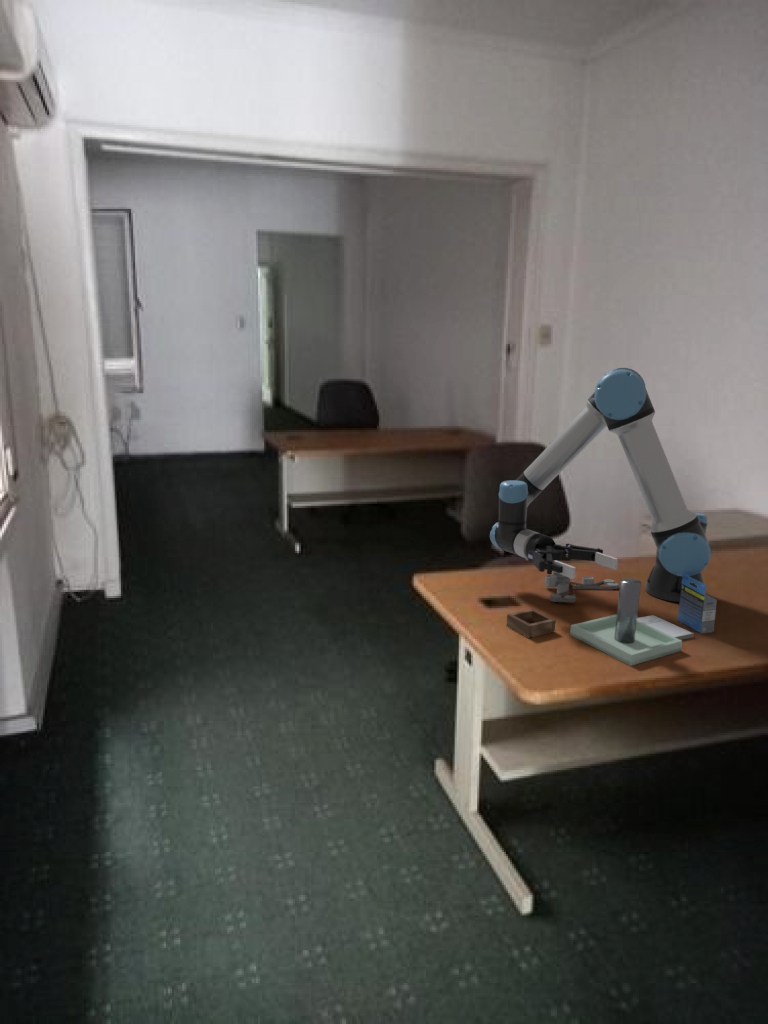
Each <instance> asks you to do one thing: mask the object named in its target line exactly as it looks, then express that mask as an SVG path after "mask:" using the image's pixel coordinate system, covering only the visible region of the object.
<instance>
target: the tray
mask: <svg viewBox="0 0 768 1024" xmlns="http://www.w3.org/2000/svg"><path fill="white" fill-rule="evenodd" d="M616 617H617V613H616V614H612V615H608V616H602V617H599V618H595V619H591V620H586V621H583V622H578V623H574V624H571V625H570V630H569V631H570V632H569V635H570V637H573V638H575V639H577V640H579V641H581V642H582V643H585V644H587V645H588V646H590V647H593V648H594V649H596V650H598V649H599V650H598V651H599V652H603V653H604V654H606V655H608V656H610V657H612V658H614V659H616V660H618V661H619V662H622V663H624V664H626V665H628V666H630V667H632V666H635V665H638V664H641V663H646V662H650V661H652V660H655V659H656V660H657V659H659V658H662V657H666V656H669V655H673V654H677V653H680V652H682V647H683V646H682V645H683V640H679V639H677V638H675V637H673V636H670V635H668V634H666V633H664V632H661V631H659V630H657V629H654V628H652V627H650V626H648V625H645V624H643V623H641V622H639V621H637V624H636V633H635V641H634V643H630V644H626V643H620V642H618V641H616V640H615V639H614V636H615V627H616Z"/></svg>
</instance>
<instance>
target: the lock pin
mask: <svg viewBox="0 0 768 1024" xmlns="http://www.w3.org/2000/svg"><path fill="white" fill-rule="evenodd" d="M641 586H642V581H640V580H638V579H636V578H628V577H627V578H626V577H624V578H621V579H620V582H619V588H618V590H619V592H618V599H617V609H616V614H617V617H616V627H615V636H614V639H615V640H616V641H618V642H620V643H626V644H630V643H634V641H635V633H636V624H637V618H638V613H639V607H640V606H639V604H640V596H641V589H642V588H641Z"/></svg>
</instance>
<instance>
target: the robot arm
mask: <svg viewBox="0 0 768 1024" xmlns="http://www.w3.org/2000/svg"><path fill="white" fill-rule="evenodd" d="M655 414H656V409H655V408H654V405H653V403H652V400H651V398H650V396H649V392H648V391H647V388H646V383H645V380H644V379H643V377H642V376H641V375H640V374H639V373H638V372H637V371H636V370H634V369H632V368H628V367H619V368H615V369H613V370H610V371H608V372H607V373H604V374H603V375H602V376H601V378H600V379H599V380H598V382H597V383H596V386H595V389H594V392H593V393H592V394H591V396H589V398H588V399H586V406H585V407H584V408H583V410H581V411H580V412H579V414H577V416H576V417H574V419H572V421H571V422H570V423H569V424H568V425H567V426H566V427H565V428H564V429H563V430H562V431H561V432H560V433H559V434H558V435H557V436H556V437H555V439H554V440H552V442H550V443H549V444H548V446H547V447H546V448H545V449H544V450H543V451H542V452H541V453H540V454H539V455H538V456H537V458H535V459H534V460H533V461H532V462H531V464H529V466H528V467H527V468H526V469H525V470H524V471H523V472H522V473H521V474H519V476H518V477H517V478H516V479H515V480H504V481H502V482H501V483H500V484H499V492H498V522H495V524H494V525H492V527H491V530H490V533H489V539H490V542H491V544H492V545H493V546H495V547H496V548H498V549H500V550H501V551H505V552H508V553H510V554H513V555H516V556H519V557H522V558H524V559H525V560H526V561H529V562H530V563H532V564H533V565H534V566H535V567H536V568H537V570H538V571H539V572H542V573H543V572H545V570H546V574H547V575H552V573H553V572H556V573H558V574H561V575H563V576H566V577H568V578H570V580H575V579H576V566H573V565H571V564H568V563H564V562H562V561H567V562H568V561H569V562H570V561H571V560H577V561H588V562H594V563H595V564H597V565H599V566H603V567H605V568H608V569H611V570H614V571H617V570H618V561H619V558H617V557H614V556H611V555H608V554H604V549H602V548H599V547H597V548H594V547H587V546H580V545H576V544H571V543H566V544H565V545H562V544H556V542H555V540H554V539H553V538H552V537H551V536H548V535H546V534H543V533H540V532H537V531H534V530H531V529H528V528H527V516H528V515H527V514H528V513H527V512H528V507H529V506H530V504H531V503H532V502H533V501H534V500H535V499H536V498H537V497H538V496H539V495H540V494H541V493H542V492H543V490H545V488H546V487H547V486H548V485H549V484H550V483H551V482H552V481H554V479H555V478H557V477H558V475H559V474H560V473H562V472H563V470H565V469H566V467H568V465H570V463H572V462H573V461H574V460H575V458H576V457H578V456H579V454H580V453H581V452H582V451H583V450H584V449H585V448H586V447H587V446H589V444H590V443H592V441H593V440H594V439H595V438H596V437H598V435H599V434H600V433H601V432H602V431H603V430H604V429H606V427H607V429H608V431H609V432H611V433H612V434H615V435H617V437H618V439H619V441H620V445H621V446H622V449H623V451H624V454H625V456H626V459H627V462H628V463H629V466H630V470H631V472H632V473H633V476H634V479H635V481H636V484H637V486H638V488H639V491H640V494H641V496H642V498H643V501H644V503H645V505H646V508H647V510H648V512H649V515H650V518H651V520H652V524H651V525H650V527H649V532H650V534H651V537H652V539H653V541H654V543H655V546H656V553H655V562H654V565H653V567H652V569H651V571H650V573H649V575H648V578H647V579H646V582H645V589H646V590H645V592H646V593H648V594H649V595H651V596H652V597H655V598H657V599H661V600H663V601H668V602H676V603H680V594H681V584H682V579H683V575H684V574H686V575H687V576H689V577H691V578H693V579H695V580H697V581H699V582H701V583H703V584H705V583H704V578H703V573H702V572H703V571H704V570H705V569H706V568H707V566H708V565H709V563H710V560H711V556H712V548H711V546H710V545H711V544H709V541H708V537H707V535H706V533H707V526H708V525H709V523H708V517H707V515H706V514H704V513H700V512H696V511H695V512H694V511H692V510H689V509H688V507H687V505H686V503H685V500H684V497H683V495H682V493H681V490H680V487H679V485H678V483H677V480H676V477H675V475H674V472H673V470H672V467H671V465H670V463H669V460H668V458H667V455H666V452H665V451H664V448H663V445H662V443H661V441H660V440H661V439H660V438H659V436H658V433H657V431H656V428H655V426H654V423H653V419H654V417H655ZM690 585H692V586H693V587H695V588H697V585H695V583H691V582H690Z"/></svg>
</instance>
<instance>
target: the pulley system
mask: <svg viewBox="0 0 768 1024" xmlns="http://www.w3.org/2000/svg"><path fill="white" fill-rule="evenodd" d="M570 583H572V584H570ZM574 584H576V585H574ZM601 584H604V585H601ZM571 585H574V586H572V589H573V590H572V593H573V594H572V595H569V593H570V591H569V590H570V589H569V588H570V586H571ZM578 585H580V586H578ZM544 587H547V588H550V589H551V588H555V587H557V588H555V589H556V593H555V594H549V601H551V602H553V603H554V602H558V603H576V599H577V597H576V594H575V590H613V589H616V590H619V589H620V584H619V583H617V582H616V581H615V579H610V578H608V579H602V580H601V581H598V582H595V577H593V576H589V575H584V576H582V583H580V582H575V581H571V578H568V577H566V576H563V575H561V574H558V573H556V572H553V571H552V574H547V575H545V577H544ZM575 588H577V589H575Z"/></svg>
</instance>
